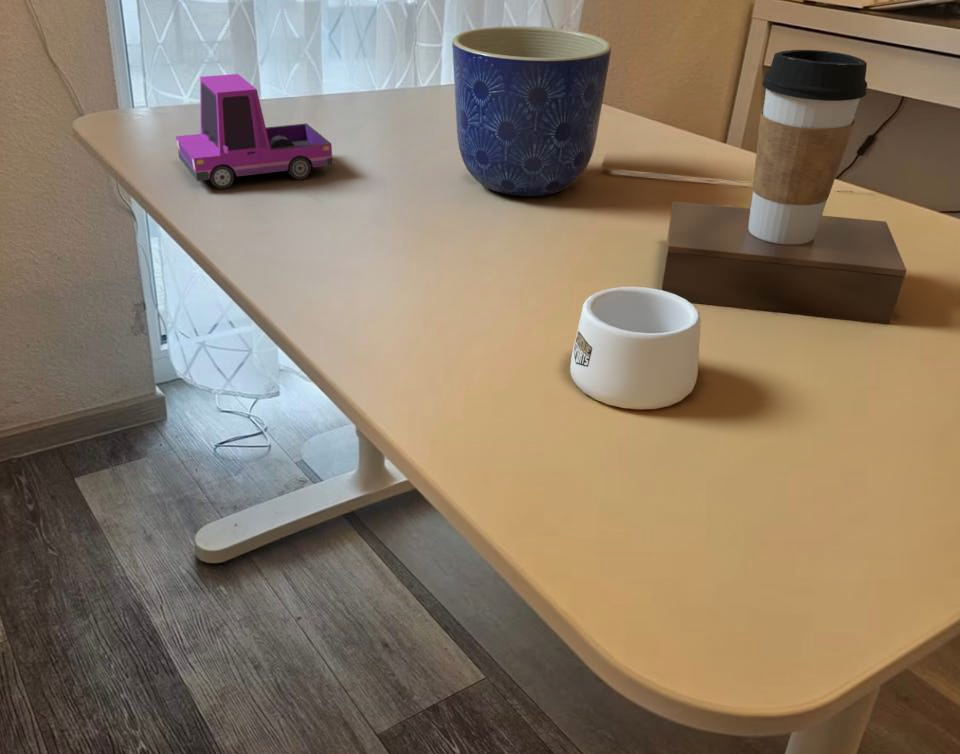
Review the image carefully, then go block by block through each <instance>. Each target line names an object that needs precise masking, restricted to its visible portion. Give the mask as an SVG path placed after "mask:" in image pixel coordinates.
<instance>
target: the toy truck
mask: <svg viewBox="0 0 960 754" xmlns="http://www.w3.org/2000/svg"><path fill="white" fill-rule="evenodd" d="M199 82H200V83H199V85H200V86H199V87H200V88H199V90H200V91H199V95H200V98H199V99H200V103H199V105H200V110H199V111H200V133H195V134H185V135H175V140H176V146H177V153H178V158H179V160H180V161H181V162H182V163H183V165H184V166H185V167H186V169H187V170H188V172H189V173H190V174H191V175H192V176H193V178H194V179H195V180H196V181H197V182H201V181H209V182H210V183H211V184H212V185H213V186H214V187H215V188H217V189H218V190H219V189H220V190H225V189H227V188H230V187H231V186H232V184H233V183H234V180H235V179H234V178H235V176H236V177H244V176H253V175H261V174H270V173H278V172H287V173H288V174H289V175H290V176H291V177H292V178H293V179H294V180H299V181H301V180H304V179H306V178H307V177H308V176H309V175H310V173H311V169H312V168H320V167H329V166H333V164H334V163H333V149H332V148H333V147H332V143H331V142H330V141H329V140H328V139H326V138H325V137H324V136H323V135H322V134H321V133H319V132H318V131H316V129H314V128H313V127H311V126H310V125H309V124H308V123H306V122H305V123H296V124H287V125H285V124H284V125H276V126H267V127H266V123H265V119H264V114H263V110H262V106H261V105H262V104H261V101H260V98H259V93H258V88H256V87H255V86H254V85H252V84H251V83H250V82H248V80H246V79H245V78H244V77H242V75H240V74H239V73H233V74H220V75H218V74H216V75H205V76H204V75H203V76H200V77H199Z"/></svg>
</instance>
